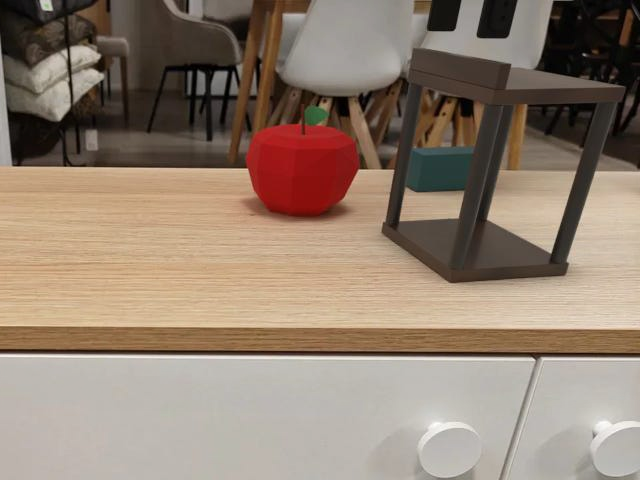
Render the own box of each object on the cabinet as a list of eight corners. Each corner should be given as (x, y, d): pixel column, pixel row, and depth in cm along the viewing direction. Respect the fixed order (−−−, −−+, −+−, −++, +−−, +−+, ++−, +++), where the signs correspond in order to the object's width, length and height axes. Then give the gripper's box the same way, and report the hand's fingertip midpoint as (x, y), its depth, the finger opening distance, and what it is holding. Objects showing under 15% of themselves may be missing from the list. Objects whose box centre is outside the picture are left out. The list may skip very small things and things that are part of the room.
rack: (479, 227, 64) (524, 46, 56) (566, 274, 54) (634, 61, 46) (380, 232, 62) (412, 47, 55) (449, 282, 52) (501, 63, 44)
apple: (225, 199, 71) (230, 99, 66) (306, 187, 76) (317, 93, 71) (284, 228, 63) (295, 117, 58) (371, 213, 67) (388, 108, 62)
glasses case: (465, 180, 79) (472, 145, 77) (482, 189, 75) (491, 152, 73) (401, 183, 77) (407, 147, 75) (416, 192, 74) (423, 155, 72)
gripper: (615, -191, 55) (551, 41, 63) (491, -155, 70) (453, 29, 78) (531, -195, 54) (478, 41, 62) (424, -158, 69) (393, 28, 77)
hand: (464, 34), depth 70 cm, fingers open, 9 cm apart
